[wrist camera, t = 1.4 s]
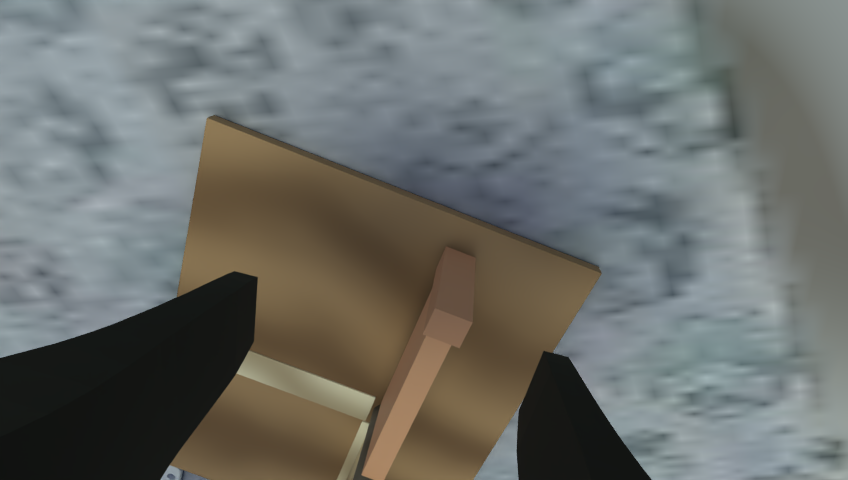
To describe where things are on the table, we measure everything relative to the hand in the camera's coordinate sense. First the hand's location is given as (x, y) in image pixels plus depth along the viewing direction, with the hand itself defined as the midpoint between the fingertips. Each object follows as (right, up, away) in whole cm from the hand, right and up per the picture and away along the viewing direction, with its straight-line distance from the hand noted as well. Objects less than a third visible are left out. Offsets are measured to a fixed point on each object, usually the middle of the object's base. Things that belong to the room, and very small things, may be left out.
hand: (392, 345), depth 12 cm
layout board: (-4, -4, +14) cm, 15 cm away
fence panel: (+1, -2, +11) cm, 12 cm away
